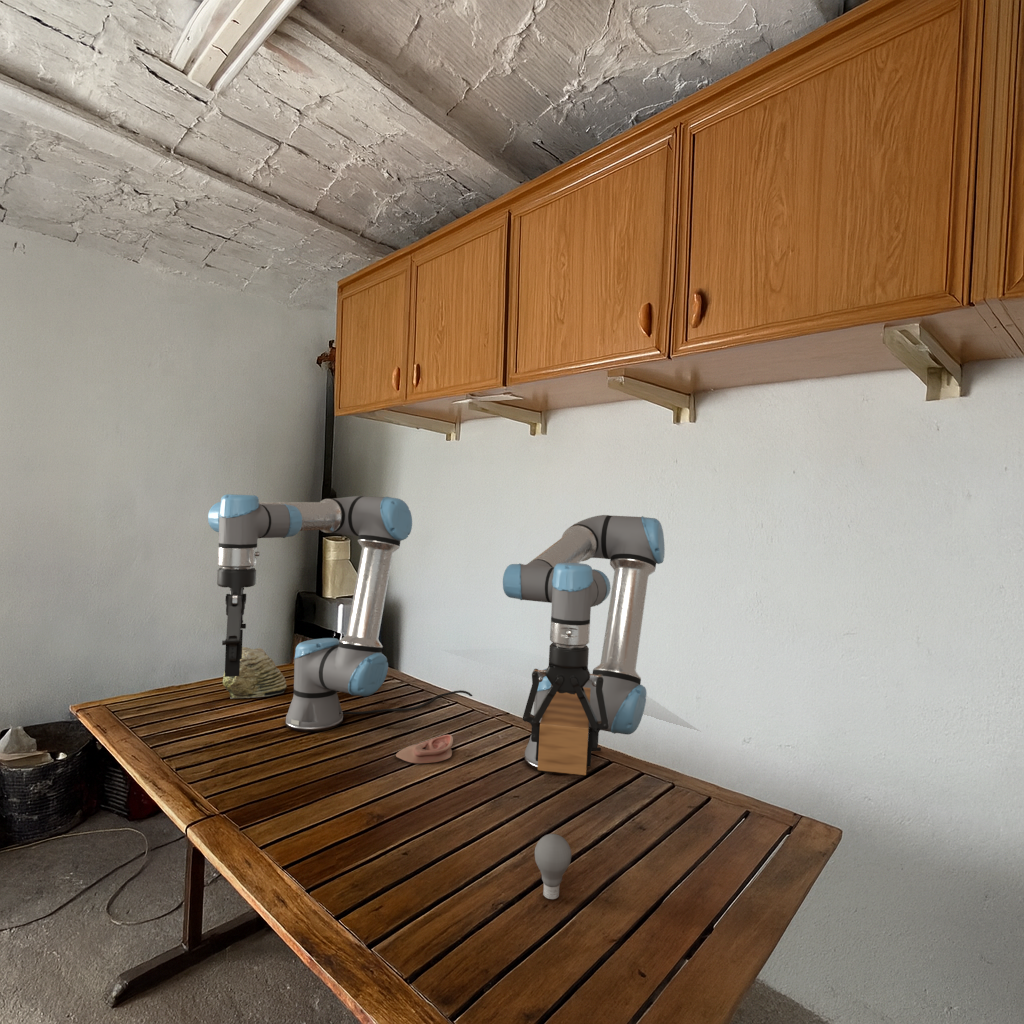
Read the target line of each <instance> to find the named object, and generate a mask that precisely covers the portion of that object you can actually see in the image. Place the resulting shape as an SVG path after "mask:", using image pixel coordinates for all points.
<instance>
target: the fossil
mask: <svg viewBox="0 0 1024 1024" xmlns="http://www.w3.org/2000/svg"><path fill="white" fill-rule="evenodd" d="M222 676H223V677H222V685H223V687H224V688H225V690H226V691H228V693H229V698H230V699H250V698H264V697H271V696H275V695H281V694H284V693H285V691H286V689H287V687H288V686H287V680H286V678H285V676H284V674H283V673H282V672H281V669H279V668H278V667H277V665H276V663H275V662H274V660H273V659H272V658H271V657H270V656H269V655H268V654H267V653H266V652H265V650H264V649H263V648H260V647H258V648H251V647H247V646H246V647H245V646H242V659H240V673H239V676H230V677H225V671H223V675H222Z"/></svg>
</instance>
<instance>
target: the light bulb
mask: <svg viewBox="0 0 1024 1024" xmlns="http://www.w3.org/2000/svg"><path fill="white" fill-rule="evenodd" d="M572 856H573V855H572V849H571V846H570V845H569V843H568V842H567V840H566V839H565V838H564V837H563V836H562V835H560V834H557V833H548V834H545V835H544V836H542V837H541V838H540V839H539V840H538V842H537V843H536V845H535V847H534V861H535V863H536V866H537V867H538V870H539V871H540V874H541V880H542V882H543V891H542V895H543V896H544V898H545V899H548V900H556V899H558V898H559V897H560V885H561V883H562V881H563V877H564V874H565V873H566V871H567V870H568V869H569V866H570V864H571V861H572Z"/></svg>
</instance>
